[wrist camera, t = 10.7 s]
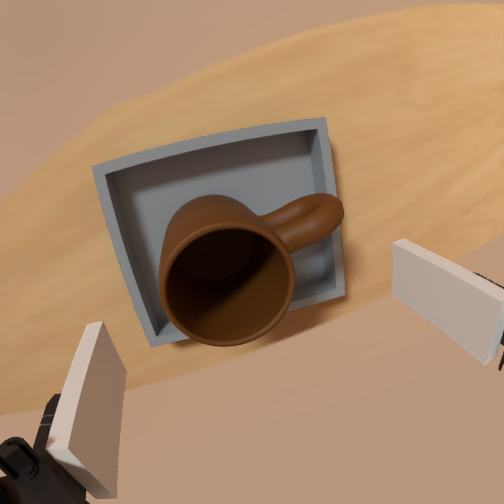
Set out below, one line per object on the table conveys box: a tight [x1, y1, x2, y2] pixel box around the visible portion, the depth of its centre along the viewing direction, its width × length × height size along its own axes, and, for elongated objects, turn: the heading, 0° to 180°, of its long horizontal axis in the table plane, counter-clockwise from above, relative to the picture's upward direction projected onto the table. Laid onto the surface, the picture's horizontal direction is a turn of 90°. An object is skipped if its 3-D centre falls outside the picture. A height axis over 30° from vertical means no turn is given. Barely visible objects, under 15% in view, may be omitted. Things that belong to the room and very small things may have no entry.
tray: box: [92, 117, 345, 347], centre depth 24 cm, size 17×15×3 cm
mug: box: [158, 193, 344, 347], centre depth 21 cm, size 12×8×9 cm, turn 120°
